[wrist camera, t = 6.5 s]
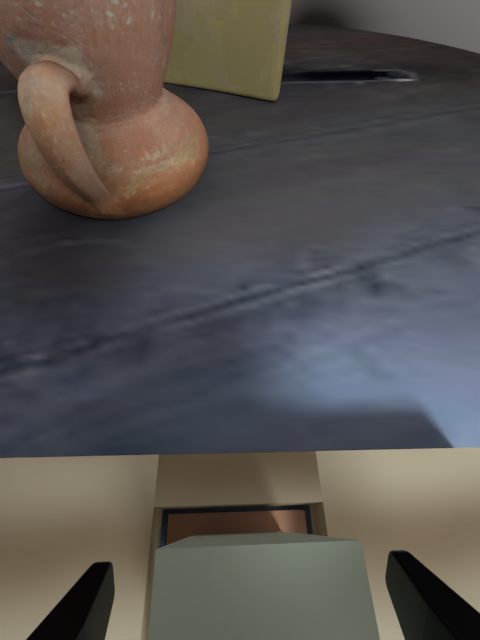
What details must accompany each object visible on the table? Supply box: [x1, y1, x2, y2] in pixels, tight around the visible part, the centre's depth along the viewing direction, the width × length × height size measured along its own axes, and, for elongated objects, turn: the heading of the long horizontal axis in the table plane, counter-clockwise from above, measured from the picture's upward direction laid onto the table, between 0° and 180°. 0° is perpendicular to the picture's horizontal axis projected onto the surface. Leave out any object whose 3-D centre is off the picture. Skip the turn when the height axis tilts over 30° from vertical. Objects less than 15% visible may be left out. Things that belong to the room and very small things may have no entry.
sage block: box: [148, 531, 380, 640], centre depth 9 cm, size 4×4×10 cm
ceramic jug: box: [0, 0, 209, 220], centre depth 22 cm, size 18×14×14 cm
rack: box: [0, 447, 480, 640], centre depth 13 cm, size 8×24×2 cm, turn 92°
